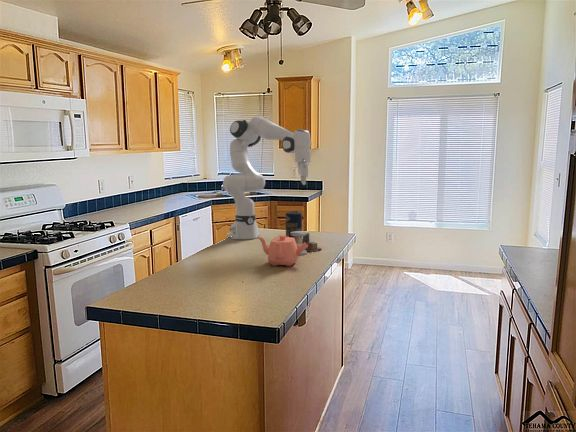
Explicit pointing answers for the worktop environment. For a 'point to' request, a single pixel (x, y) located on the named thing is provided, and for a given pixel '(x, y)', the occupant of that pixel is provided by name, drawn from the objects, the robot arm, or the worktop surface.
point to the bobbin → (299, 239)
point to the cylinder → (306, 237)
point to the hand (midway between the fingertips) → (303, 183)
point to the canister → (293, 222)
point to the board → (312, 247)
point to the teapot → (282, 250)
